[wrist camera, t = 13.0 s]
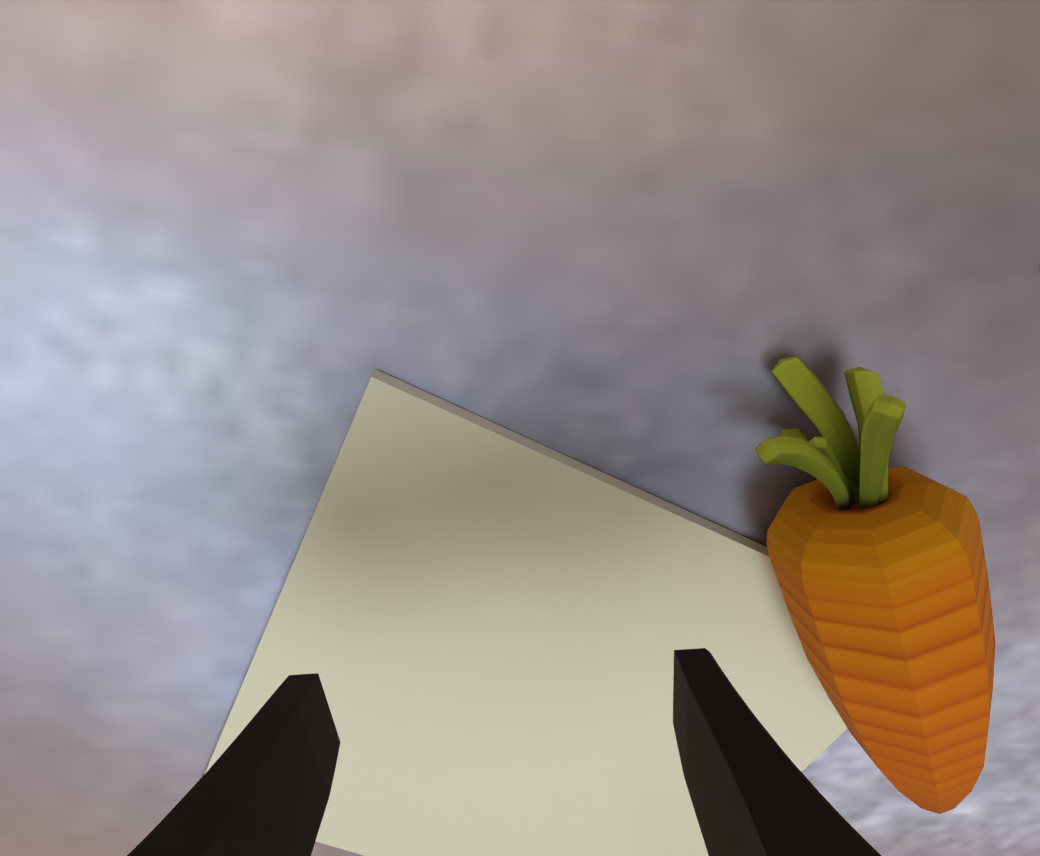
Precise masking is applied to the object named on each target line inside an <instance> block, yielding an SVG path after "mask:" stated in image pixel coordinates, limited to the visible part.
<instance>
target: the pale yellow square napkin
mask: <svg viewBox="0 0 1040 856" xmlns="http://www.w3.org/2000/svg"><path fill="white" fill-rule="evenodd" d="M698 648H706V649H707V650H708V651H709V652H711V654H712V656H713V657H714V659H715V660H716V662H717V663H718V665H719V666H720V668H721V669H722V671H723V672H724V674H725V675H726V677H727V678H728V680H729V681H730V682H731V684H732V685H733V687H734V688H735V689H736V691H737V692H738V694H739V695H740V696H741V698H742V699H743V700H744V702H745V703H746V704H747V706H748V707H749V708H750V710H751V711H752V712H753V714H754V715H755V716H756V718H757V719H758V720H759V721H760V723H761V724H762V725H763V726H764V728H765V729H766V730H767V731H768V733H769V734H770V735H771V736H772V738H773V739H774V740H775V741H776V743H777V744H778V745H779V746H780V748H781V749H782V750H783V751H784V752H785V754H786V755H787V756H788V757H789V758H790V759H791V761H792V762H793V763H794V764H795V765H796V767H797V768H798V769H799V770H800V771H802V770H803V769H805V768H806V767H807V766H808V765H809V764H810V763H811V762H812V761H813V760H814V759H815V758H816V757H817V756H818V755H819V754H820V753H821V752H823V751H824V750H825V749H826V748H827V747H828V746H829V745H830V744H831V743H832V742H833V741H834V740H835V739H836V738H837V737H838V736H840V735H841V734H842V733H843V732H844V731H845V730H846V729H847V727H846V725H845V723H844V722H843V720H842V719H841V717H840V715H839V714H838V712H837V710H836V709H835V707H834V706H833V704H832V702H831V701H830V699H829V697H828V696H827V694H826V692H825V690H824V688H823V687H822V685H821V683H820V681H819V679H818V677H817V676H816V674H815V672H814V670H813V668H812V667H811V665H810V663H809V661H808V659H807V657H806V654H805V652H804V649H803V647H802V644H801V642H800V639H799V637H798V634H797V632H796V629H795V626H794V624H793V621H792V619H791V616H790V614H789V611H788V609H787V606H786V603H785V600H784V597H783V594H782V591H781V589H780V586H779V583H778V580H777V577H776V574H775V572H774V569H773V566H772V563H771V560H770V557H769V554H768V548H767V547H766V546H763V545H761V544H759V543H757V542H755V541H752V540H750V539H748V538H746V537H744V536H741V535H739V534H737V533H735V532H733V531H730V530H728V529H726V528H724V527H722V526H719V525H717V524H715V523H713V522H711V521H708V520H706V519H704V518H702V517H700V516H697V515H695V514H693V513H691V512H689V511H686V510H684V509H682V508H680V507H678V506H676V505H673V504H671V503H669V502H667V501H665V500H662V499H660V498H658V497H656V496H654V495H651V494H649V493H647V492H645V491H643V490H640V489H638V488H636V487H634V486H632V485H629V484H627V483H625V482H623V481H621V480H618V479H616V478H614V477H612V476H610V475H607V474H605V473H603V472H601V471H599V470H596V469H594V468H592V467H590V466H588V465H585V464H583V463H581V462H579V461H577V460H574V459H572V458H570V457H568V456H566V455H563V454H561V453H559V452H557V451H555V450H552V449H550V448H548V447H546V446H544V445H541V444H539V443H537V442H535V441H533V440H530V439H528V438H526V437H524V436H522V435H519V434H517V433H515V432H513V431H511V430H508V429H506V428H504V427H502V426H500V425H497V424H495V423H493V422H491V421H489V420H486V419H484V418H482V417H480V416H478V415H475V414H473V413H471V412H469V411H467V410H464V409H462V408H460V407H458V406H456V405H453V404H451V403H449V402H447V401H445V400H442V399H440V398H438V397H436V396H434V395H432V394H429V393H427V392H425V391H423V390H421V389H418V388H416V387H414V386H412V385H410V384H407V383H405V382H403V381H401V380H399V379H396V378H394V377H392V376H390V375H388V374H385V373H383V372H381V371H379V370H377V369H376V370H375V372H374V373H373V375H372V376H371V378H370V380H369V383H368V385H367V388H366V390H365V392H364V395H363V397H362V399H361V402H360V404H359V407H358V409H357V411H356V414H355V416H354V419H353V421H352V423H351V426H350V428H349V431H348V433H347V435H346V438H345V440H344V442H343V445H342V447H341V450H340V452H339V454H338V457H337V459H336V462H335V464H334V466H333V469H332V471H331V473H330V476H329V478H328V481H327V483H326V485H325V488H324V490H323V493H322V495H321V497H320V500H319V502H318V505H317V507H316V509H315V512H314V514H313V516H312V519H311V521H310V524H309V526H308V528H307V531H306V533H305V536H304V538H303V540H302V543H301V545H300V548H299V550H298V552H297V555H296V557H295V559H294V562H293V564H292V567H291V569H290V571H289V574H288V576H287V579H286V581H285V583H284V586H283V588H282V590H281V593H280V595H279V598H278V600H277V602H276V605H275V607H274V610H273V612H272V614H271V617H270V619H269V622H268V624H267V626H266V629H265V631H264V633H263V636H262V638H261V641H260V643H259V645H258V648H257V650H256V653H255V655H254V657H253V660H252V662H251V665H250V667H249V669H248V672H247V674H246V676H245V679H244V681H243V684H242V686H241V688H240V691H239V693H238V696H237V698H236V700H235V703H234V705H233V707H232V710H231V712H230V715H229V717H228V719H227V722H226V724H225V727H224V729H223V731H222V734H221V736H220V739H219V741H218V743H217V746H216V748H215V750H214V753H213V755H212V758H211V760H210V762H209V765H208V767H207V770H206V772H207V771H208V770H209V769H210V768H211V766H212V765H213V764H214V763H215V762H216V761H217V760H218V758H219V757H220V756H221V755H222V754H223V753H224V751H225V750H226V749H227V748H228V747H229V746H230V745H231V743H232V742H233V741H234V740H235V739H236V738H237V736H238V735H239V734H240V733H241V732H242V730H243V729H244V728H245V727H246V726H247V724H248V723H249V722H250V721H251V720H252V718H253V717H254V716H255V715H256V714H257V712H258V711H259V710H260V709H261V708H262V706H263V705H264V704H265V703H266V702H267V700H268V699H269V698H270V697H271V696H272V694H273V693H274V692H275V691H276V690H277V688H278V687H279V686H280V685H281V684H282V683H283V681H284V680H285V679H286V678H287V677H288V676H289V675H299V674H314V673H318V674H319V677H320V681H321V684H322V687H323V690H324V693H325V696H326V699H327V702H328V705H329V708H330V711H331V714H332V718H333V721H334V724H335V727H336V730H337V733H338V736H339V739H340V747H339V752H338V758H337V763H336V768H335V773H334V778H333V782H332V787H331V791H330V796H329V799H328V803H327V806H326V809H325V812H324V816H323V819H322V822H321V825H320V828H319V831H318V834H317V838H316V842H320V843H323V844H327V845H330V846H333V847H337V848H340V849H343V850H347V851H350V852H354V853H357V854H360V855H364V856H709V855H708V852H707V849H706V846H705V842H704V839H703V836H702V833H701V830H700V826H699V823H698V820H697V817H696V814H695V810H694V807H693V804H692V801H691V798H690V794H689V791H688V788H687V785H686V781H685V778H684V774H683V769H682V765H681V760H680V755H679V751H678V746H677V741H676V736H675V731H674V726H673V678H674V650H682V649H698ZM206 772H205V773H206ZM204 775H205V774H204Z"/></svg>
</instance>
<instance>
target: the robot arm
mask: <svg viewBox="0 0 1040 856" xmlns="http://www.w3.org/2000/svg"><path fill="white" fill-rule="evenodd" d="M1039 272H1040V266H1039ZM673 726H674V731H675V736H676V741H677V746H678V751H679V755H680V760H681V765H682V769H683V774H684V778H685V781H686V785H687V788H688V791H689V794H690V798H691V801H692V804H693V807H694V810H695V814H696V817H697V820H698V823H699V826H700V830H701V833H702V836H703V839H704V842H705V846H706V849H707V852H708V855H709V856H881V855H880V854H879V853H878V852H877V851H876V850H875V849H874V848H873V847H872V846H871V845H870V844H869V843H868V842H867V841H866V840H865V839H864V838H863V837H862V836H861V835H860V834H859V833H858V832H857V831H856V830H855V829H854V828H853V827H852V826H851V825H850V824H849V823H848V822H847V821H846V820H845V819H844V818H843V817H842V816H841V815H840V814H839V813H838V812H837V811H836V810H835V809H834V808H833V807H832V805H831V804H830V803H829V802H828V801H827V800H826V799H825V798H824V797H823V796H822V795H821V794H820V793H819V791H818V790H817V789H816V788H815V787H814V786H813V785H812V784H811V782H810V781H809V780H808V779H807V778H806V777H805V776H804V774H803V773H802V772H801V771H800V770H799V769H798V768H797V767H796V765H795V764H794V763H793V762H792V761H791V759H790V758H789V757H788V756H787V755H786V754H785V752H784V751H783V750H782V749H781V748H780V746H779V745H778V744H777V743H776V741H775V740H774V739H773V738H772V736H771V735H770V734H769V733H768V731H767V730H766V729H765V728H764V726H763V725H762V724H761V723H760V721H759V720H758V719H757V718H756V716H755V715H754V714H753V712H752V711H751V710H750V708H749V707H748V706H747V704H746V703H745V702H744V700H743V699H742V698H741V696H740V695H739V694H738V692H737V691H736V689H735V688H734V687H733V685H732V684H731V682H730V681H729V680H728V678H727V677H726V675H725V674H724V672H723V671H722V669H721V668H720V666H719V665H718V663H717V662H716V660H715V659H714V657H713V656H712V654H711V652H709V651H708V650H707V649H706V648H698V649H682V650H674V678H673ZM339 747H340V739H339V736H338V733H337V730H336V727H335V724H334V721H333V718H332V714H331V711H330V708H329V705H328V702H327V699H326V696H325V693H324V690H323V687H322V684H321V681H320V677H319V674H318V673H314V674H299V675H289V676H288V677H287V678H286V679H285V680H284V681H283V683H282V684H281V685H280V686H279V687H278V688H277V690H276V691H275V692H274V693H273V694H272V696H271V697H270V698H269V699H268V700H267V702H266V703H265V704H264V705H263V706H262V708H261V709H260V710H259V711H258V712H257V714H256V715H255V716H254V717H253V718H252V720H251V721H250V722H249V723H248V724H247V726H246V727H245V728H244V729H243V730H242V732H241V733H240V734H239V735H238V736H237V738H236V739H235V740H234V741H233V742H232V743H231V745H230V746H229V747H228V748H227V749H226V750H225V751H224V753H223V754H222V755H221V756H220V757H219V758H218V760H217V761H216V762H215V763H214V764H213V765H212V766H211V768H210V769H209V770H208V771H207V772H206V773H205V775H204V776H203V777H202V778H201V779H200V780H199V781H198V782H197V783H196V785H195V786H194V787H193V788H192V789H191V790H190V791H189V792H188V793H187V794H186V795H185V796H184V797H183V799H182V800H181V801H180V802H179V803H178V804H177V805H176V806H175V807H174V808H173V809H172V810H171V811H170V813H169V814H168V815H167V816H166V817H165V818H164V819H163V820H162V821H161V822H160V823H159V824H158V825H157V826H156V827H155V828H154V829H153V830H152V831H151V832H150V833H149V834H148V836H147V837H146V838H145V839H144V840H143V841H142V842H141V843H140V844H139V845H138V846H137V847H136V848H135V849H134V850H133V851H132V852H130V853H129V854H128V855H127V856H311V853H312V850H313V847H314V844H315V841H316V838H317V834H318V831H319V828H320V825H321V822H322V819H323V816H324V812H325V809H326V806H327V803H328V799H329V796H330V791H331V787H332V782H333V778H334V773H335V768H336V763H337V758H338V752H339Z"/></svg>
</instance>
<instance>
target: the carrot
mask: <svg viewBox="0 0 1040 856" xmlns="http://www.w3.org/2000/svg"><path fill="white" fill-rule="evenodd" d="M771 373H772V374H773V375H774V377H775V378H776V379H777V380H778V382H779V383H780V384H781V386H782V387H783V388H784V390H785V391H786V392H787V394H788V395H789V396H790V398H791V399H792V400H793V401H794V402H795V403H796V405H797V406H798V407H799V408H800V409H801V410H802V412H803V413H804V414H805V415H806V416H807V417H808V419H809V420H810V421H811V422H812V423H813V425H814V426H815V428H816V429H817V431H818V432H819V434H820V435H821V436H816V437H814V438H813V439H810V438H809V437H808V436H807V435H806V434H805V433H803V432H802V431H801V430H800V429H783V430H782V432H781V433H780V434H779V436H778V437H774V438H769V439H767V440H766V441H764V442H762V443H761V444H760V445H759V446H758V447H757V448H756V450H757V453H758V456H759V458H760V459H761V460H762V461H763V462H764V463H765V464H775V465H791V466H794V467H796V468H798V469H800V470H802V471H805V472H807V473H808V474H810V475H812V476H813V477H815V478H817V479H816V480H814V481H811V482H809V483H806V484H804V485H801V486H799V487H796V488H794V489H793V490H792V491H791V493H790V494H789V495H788V496H787V498H786V500H785V501H784V503H783V505H782V506H781V508H780V510H779V512H778V513H777V515H776V517H775V518H774V520H773V522H772V524H771V525H770V527H769V529H768V531H767V548H768V554H769V557H770V560H771V563H772V566H773V569H774V572H775V574H776V577H777V580H778V583H779V586H780V589H781V591H782V594H783V597H784V600H785V603H786V606H787V609H788V611H789V614H790V616H791V619H792V621H793V624H794V626H795V629H796V632H797V634H798V637H799V639H800V642H801V644H802V647H803V649H804V652H805V654H806V657H807V659H808V661H809V663H810V665H811V667H812V668H813V670H814V672H815V674H816V676H817V677H818V679H819V681H820V683H821V685H822V687H823V688H824V690H825V692H826V694H827V696H828V697H829V699H830V701H831V702H832V704H833V706H834V707H835V709H836V710H837V712H838V714H839V715H840V717H841V719H842V720H843V722H844V723H845V725H846V727H847V728H848V730H849V732H850V733H851V734H852V736H853V737H854V738H855V739H856V741H857V742H858V743H859V744H860V746H861V747H862V748H863V749H864V751H865V752H866V753H867V754H868V756H869V757H870V758H871V759H872V761H873V762H874V763H875V764H876V766H877V767H878V768H879V769H880V770H881V772H882V773H883V774H884V775H885V776H886V777H887V778H888V779H889V781H890V782H891V783H892V784H893V785H894V786H895V787H896V788H897V790H898V791H899V792H901V793H902V794H903V795H905V796H906V797H907V798H909V799H910V800H911V801H913V802H914V803H915V804H916V805H918V806H919V807H920V808H922V809H926V810H929V811H932V812H935V813H938V814H941V813H943V812H946V811H949V810H951V809H954V808H955V807H956V806H957V805H958V804H959V803H960V802H961V801H962V800H963V799H964V798H965V797H966V796H967V795H968V794H969V793H970V792H971V791H972V789H973V787H974V785H975V783H976V781H977V779H978V777H979V775H980V773H981V771H982V769H983V767H984V759H985V751H986V743H987V734H988V726H989V717H990V708H991V699H992V691H993V677H994V658H995V635H994V625H993V616H992V607H991V598H990V589H989V581H988V575H987V568H986V562H985V556H984V549H983V543H982V536H981V530H980V523H979V520H978V517H977V514H976V511H975V509H974V507H973V506H972V504H971V503H970V501H969V500H968V498H967V497H966V496H964V495H962V494H960V493H958V492H956V491H954V490H952V489H950V488H948V487H946V486H944V485H942V484H940V483H938V482H936V481H933V480H931V479H929V478H927V477H925V476H923V475H921V474H919V473H917V472H915V471H913V470H910V469H908V468H906V467H888V462H889V457H890V453H891V448H892V444H893V440H894V436H895V433H896V431H897V429H898V427H899V425H900V423H901V420H902V417H903V414H904V411H905V404H906V402H903V401H901V400H899V399H897V398H895V397H893V396H888V395H884V392H883V388H882V385H881V382H880V378H879V375H878V374H877V373H874V372H871V371H869V370H866V369H863V368H860V367H858V368H854V369H850V370H847V371H846V372H845V377H846V382H847V386H848V390H849V394H850V398H851V401H852V405H853V409H854V412H855V416H856V419H857V423H858V430H859V439H860V446H859V443H858V441H857V439H856V437H855V435H854V433H853V431H852V429H851V427H850V425H849V423H848V421H847V419H846V417H845V415H844V413H843V411H842V410H841V409H840V407H839V406H838V405H837V403H836V402H835V400H834V399H833V398H832V396H831V395H830V394H829V392H828V391H827V390H826V388H825V387H824V386H823V384H822V383H821V381H820V380H819V379H818V378H817V377H816V376H815V375H814V374H813V373H812V372H811V370H810V369H809V368H808V367H807V366H806V365H805V364H804V363H803V362H802V361H801V360H800V358H799V357H798V356H793V357H789V358H784V359H780V360H779V361H778V363H777V364H776V365H775V367H774V368H773V369H772V371H771ZM860 447H861V448H860Z"/></svg>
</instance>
